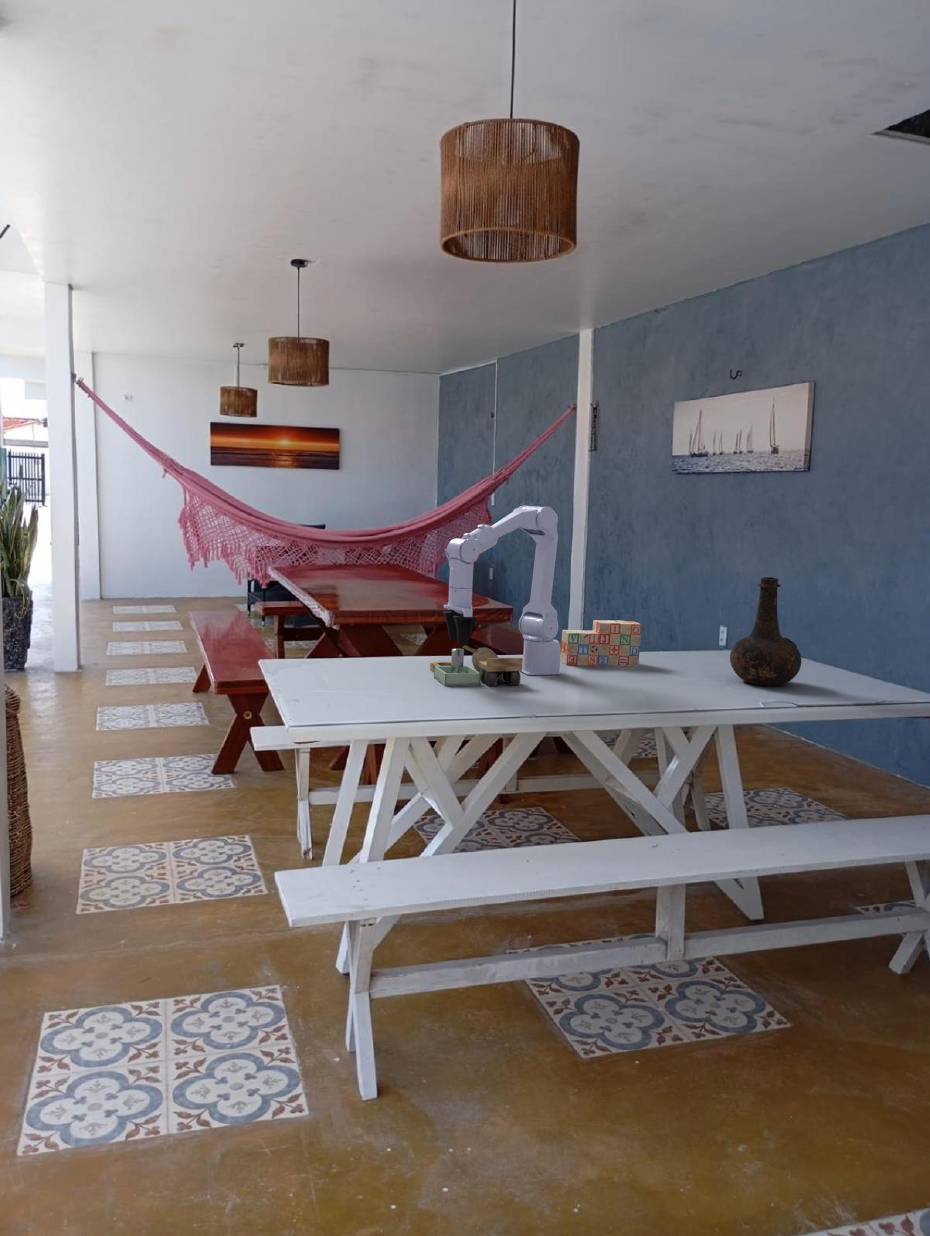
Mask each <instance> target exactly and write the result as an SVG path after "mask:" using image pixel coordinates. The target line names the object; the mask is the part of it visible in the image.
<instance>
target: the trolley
mask: <svg viewBox="0 0 930 1236" xmlns="http://www.w3.org/2000/svg"><path fill="white" fill-rule="evenodd" d="M479 667H481V669H480V673H481V679H480V683H482V684H483V683H485V685H486V687H489V686H490V687H493V686H494V687H495V686H496V685H497V683H498V678H497V673H496V671H503V672H502V675H501V677H502V681H503V682H504V683H508V685H509V686H519V685H520V683H521V671H522V668H523V657H499V658H487V661H483V662H479Z"/></svg>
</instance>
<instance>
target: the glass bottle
mask: <svg viewBox="0 0 930 1236" xmlns="http://www.w3.org/2000/svg"><path fill="white" fill-rule="evenodd" d="M756 585H757V587H759V596H758V597H759V598H758V604H757V611H756V617H755V620H754V624H753V628H752V631H751V633H750V634H749V635H748V636H745V637H743V638H741V639H739V640H738V641H737V642H736V643H734V645H733V646H732V648H731V650H730V652H729V662H730V666H731V668H732V669H733V672H734V673H735V674H736V676H738V677H739V679H741V680H742V681H744V682H745V683H748V684H751V683H752V685H756V684H757V685H758V686H764V685H765V686H767V687H775V686H777V687H779V686H782V685H785V684H787V683H789V682H791V681H792V680H793V679H795V677H796V676H797V675H798V673H799V672H800V670H801V667H802V656H801V652H800V650H799V649H798V646H797V644H796V643H795V642H793V640H791V639H790V638H788V637H783V636H782V633H781V631H780V625H779V619H778V588H781V587H782V585H781V584H779V578H777V577H772V576H771V577H770V576H769V577H768V576H766V577H761V578H760V583H758V584H756Z"/></svg>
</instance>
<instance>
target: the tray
mask: <svg viewBox="0 0 930 1236" xmlns="http://www.w3.org/2000/svg"><path fill="white" fill-rule="evenodd" d="M433 678H434V679H435V680H436V681H437V682H439V683H440V684H442V685H443V686H444V687H454V686H455V687H460V686H463V687H464V686H467V687H469V686H470V687H471V686H472V687H473V686H481V681H480V679H481V673H479V672H478V671H476V669H475V668H474V667H471V666H469V665H463V673H451V666H434V672H433Z"/></svg>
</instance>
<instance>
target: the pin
mask: <svg viewBox="0 0 930 1236" xmlns="http://www.w3.org/2000/svg"><path fill="white" fill-rule="evenodd" d="M464 654H465V649H463V648H451V661H450V662H451V673H463V666H464V661H465V660H464V659H465V658H464V656H465V655H464Z"/></svg>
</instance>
